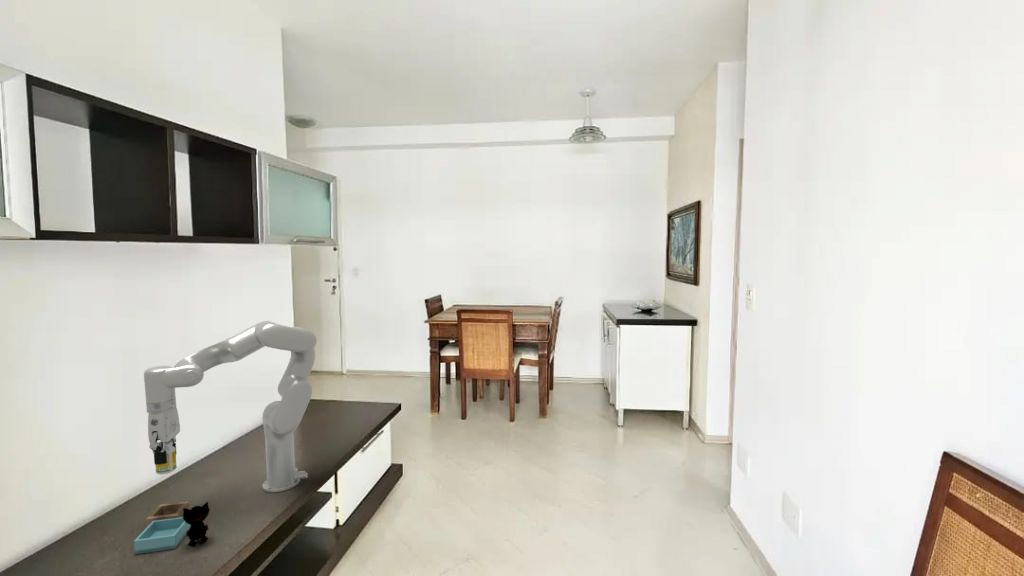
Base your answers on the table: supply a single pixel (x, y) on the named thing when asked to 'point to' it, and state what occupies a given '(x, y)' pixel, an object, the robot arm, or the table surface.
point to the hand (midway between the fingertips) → (165, 458)
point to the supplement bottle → (168, 459)
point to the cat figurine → (196, 523)
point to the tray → (161, 535)
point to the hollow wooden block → (167, 512)
